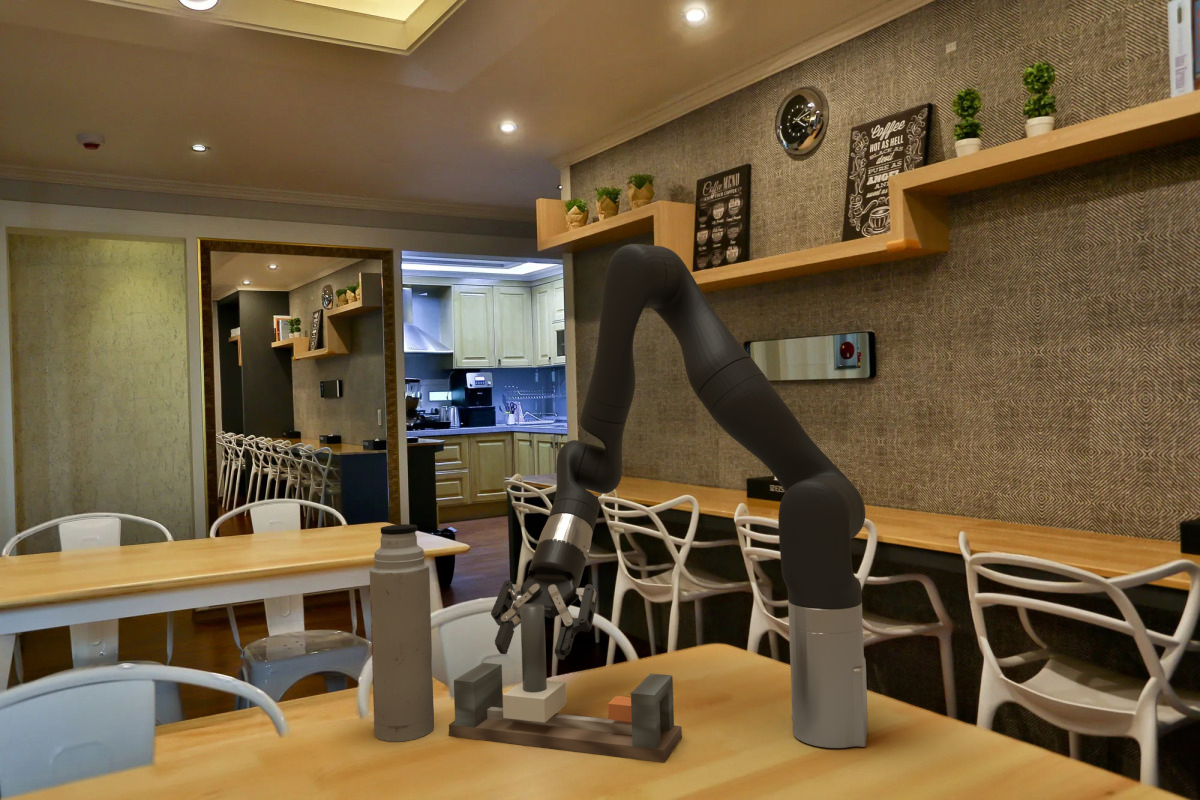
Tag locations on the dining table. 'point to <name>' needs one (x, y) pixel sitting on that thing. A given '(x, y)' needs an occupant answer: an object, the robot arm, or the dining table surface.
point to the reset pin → (620, 709)
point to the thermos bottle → (401, 637)
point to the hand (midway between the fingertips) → (529, 653)
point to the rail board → (569, 720)
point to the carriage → (534, 674)
